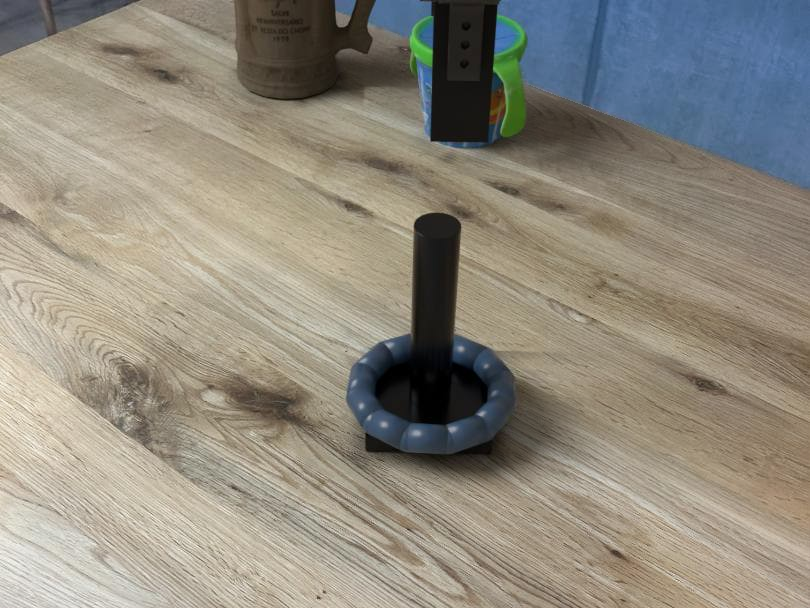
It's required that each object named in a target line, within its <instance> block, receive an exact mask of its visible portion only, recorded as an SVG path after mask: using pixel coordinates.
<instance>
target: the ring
mask: <svg viewBox="0 0 810 608" xmlns="http://www.w3.org/2000/svg"><path fill="white" fill-rule="evenodd" d="M410 344H411V332H409V333H406V334H402V335H399V336H394V337H392V338H389V339H385V340H382V341H378V342H377V343H375V344H374V346H372V347H371V348H370V349H369V350H368V351H366V352H365V354H363V355H362V356H361V357H360V358H359V359H358V360H357V361H356V362H355V363H354V364H352V366H351V367H350V371H349V376H348V382H347V389H346V395H345V403H346V405H347V407H348V409H349V410H350V412H351V413H352V414H353V416H354V418H355V419H356V420H357V422H358V423H359V425H360V426H361V427H362V429H363V431H364V433H365V432H366V433H367V434H369V435H371V436H373V437H375V438H377V439H379V440H381V441H383V442H385V443H387V444H389V445H391V446H393V447H395V448H397V449H400V450H402V451H404V452H403V453H415V454H416V453H417V454H432V455H433V454H434V455H453V454H456V453H455V452H458V451H461V450H464V449H467V448H470V447H473V446H476V445H479V444H482V443H485V442H488V441H490V440H491V439H492V438H495V436H496V435H497V434H498V433H499V432H500V430H501V429H503V427H504V426H505V425H506V424H507V423H508V422H509V421H510V419H511V418H512V417H513V416H514V414H515V412H516V408H517V407H516V403H517V401H516V399H517V397H516V389H517V388H516V377H515V375H514V373H513V372H512V371H511V370H510V368H509V367H508V366H507V365H506V363H505V362H504V361H503V360H502V359H501V358H500V357H499V356H498V354H497V353H496V352H495V351H494V350H493V349H492V348H491V347H488V346H486V345H484V344H481V343H479V342H477V341H475V340H472V339H469V338H467V337H465V336H462V335H460V334H457V333H455V334H454V349H453V362H454V363H456V364H459V365H461V366H463V367H465V368H468V369H470V370H472V371H475V372H476V373H477V375H478V376H479V377H480V378H481V380H482V381H483V382H484V383H485V384H486V386H487V387H488V392H487V402H486V403H485V404H484V405H483V406H482V407H481V409H480V410H479V411H478V412H477V413H476V414H475V415H474V416H471V417H468V418H465V419H462V420H459V421H456V422H453V423H450V424H447V425H438V424H420V423H411V422H409V421H407V420H405V419H402V418H400V417H398V416H396V415H394V414H392V413H390V412H387V411H386V410H385V409H384V408H383V406H382V405H381V403H380V402H379V400H378V399H377V398H376V396H375V390H376V382H377V380H378V379H379V378H380V377H381V376H383V375H384V374H385V373H386V372H387V371H388V370H389V369H390V368H391V367H393V366H397V365H400V364H403V363H406V362H410Z"/></svg>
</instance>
